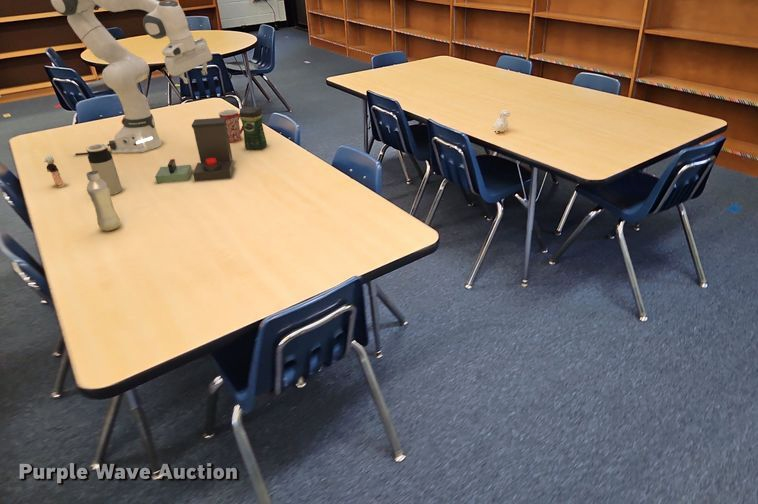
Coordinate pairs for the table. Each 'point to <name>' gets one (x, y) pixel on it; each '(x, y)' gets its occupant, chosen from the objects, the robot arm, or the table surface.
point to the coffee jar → (253, 128)
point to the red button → (211, 161)
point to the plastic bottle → (102, 201)
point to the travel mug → (104, 166)
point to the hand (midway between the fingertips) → (196, 78)
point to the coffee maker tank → (212, 139)
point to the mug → (232, 124)
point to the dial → (172, 166)
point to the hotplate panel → (174, 174)
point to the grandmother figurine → (54, 171)
